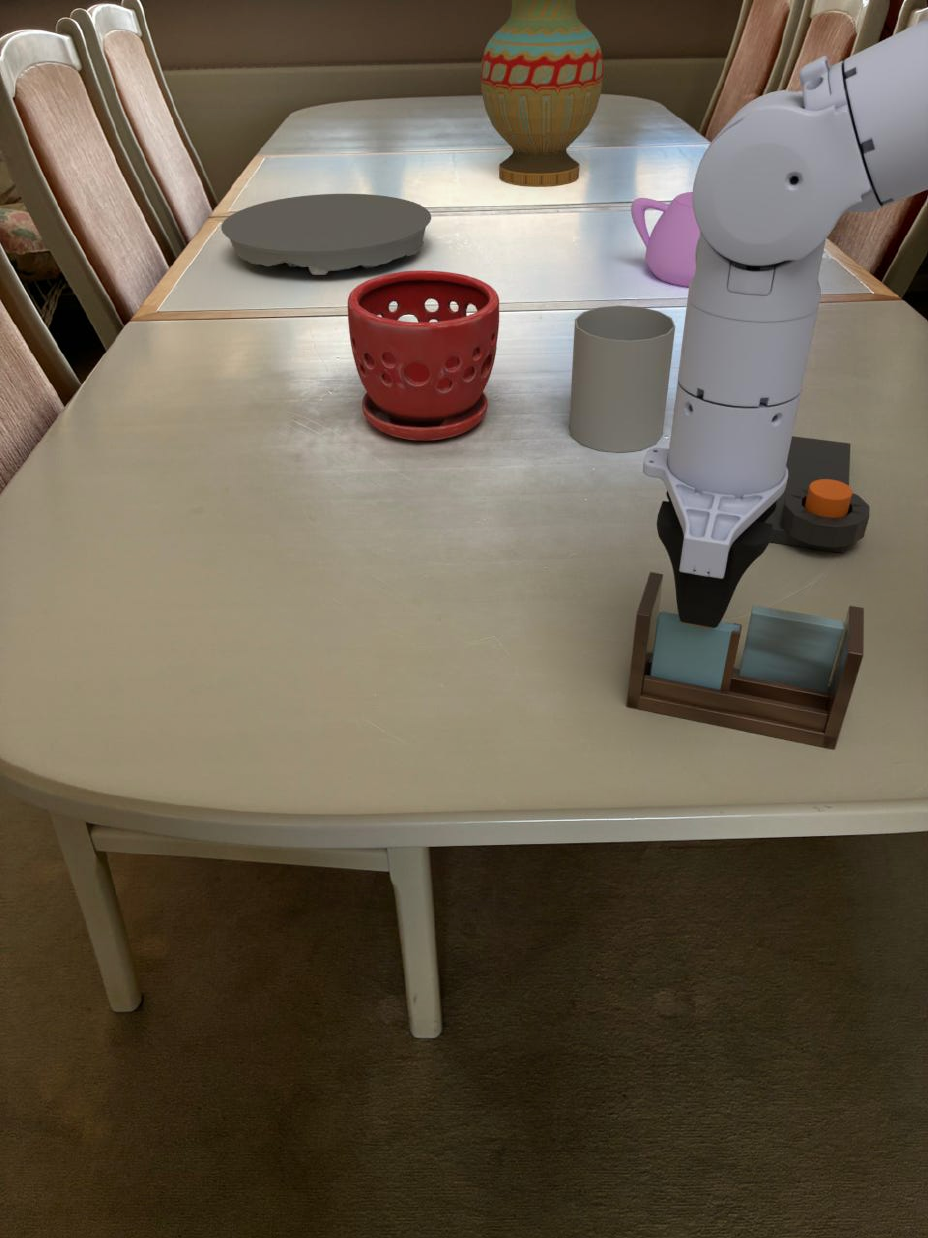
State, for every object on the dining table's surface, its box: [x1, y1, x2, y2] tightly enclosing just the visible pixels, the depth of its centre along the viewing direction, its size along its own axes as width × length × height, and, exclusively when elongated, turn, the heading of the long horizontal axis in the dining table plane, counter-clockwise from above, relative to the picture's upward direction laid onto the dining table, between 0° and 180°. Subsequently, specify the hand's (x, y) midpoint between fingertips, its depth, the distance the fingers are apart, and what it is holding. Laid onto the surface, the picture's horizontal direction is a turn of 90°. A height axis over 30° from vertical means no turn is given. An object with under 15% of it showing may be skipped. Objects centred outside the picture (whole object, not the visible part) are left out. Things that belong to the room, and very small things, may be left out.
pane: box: [650, 610, 743, 691], centre depth 55 cm, size 5×1×7 cm, turn 71°
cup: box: [568, 304, 676, 454], centre depth 84 cm, size 8×8×10 cm
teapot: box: [630, 191, 700, 288], centre depth 118 cm, size 14×20×11 cm
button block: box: [765, 435, 870, 554], centre depth 76 cm, size 18×11×3 cm, turn 161°
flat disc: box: [220, 193, 432, 276], centre depth 130 cm, size 28×28×4 cm
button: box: [805, 479, 854, 518], centre depth 70 cm, size 3×3×2 cm
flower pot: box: [347, 269, 500, 442], centre depth 86 cm, size 13×13×12 cm
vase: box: [480, 0, 604, 187], centre depth 155 cm, size 20×20×30 cm
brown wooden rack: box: [625, 571, 865, 750], centre depth 56 cm, size 12×4×7 cm, turn 71°
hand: (701, 612), depth 54 cm, fingers closed on pane
